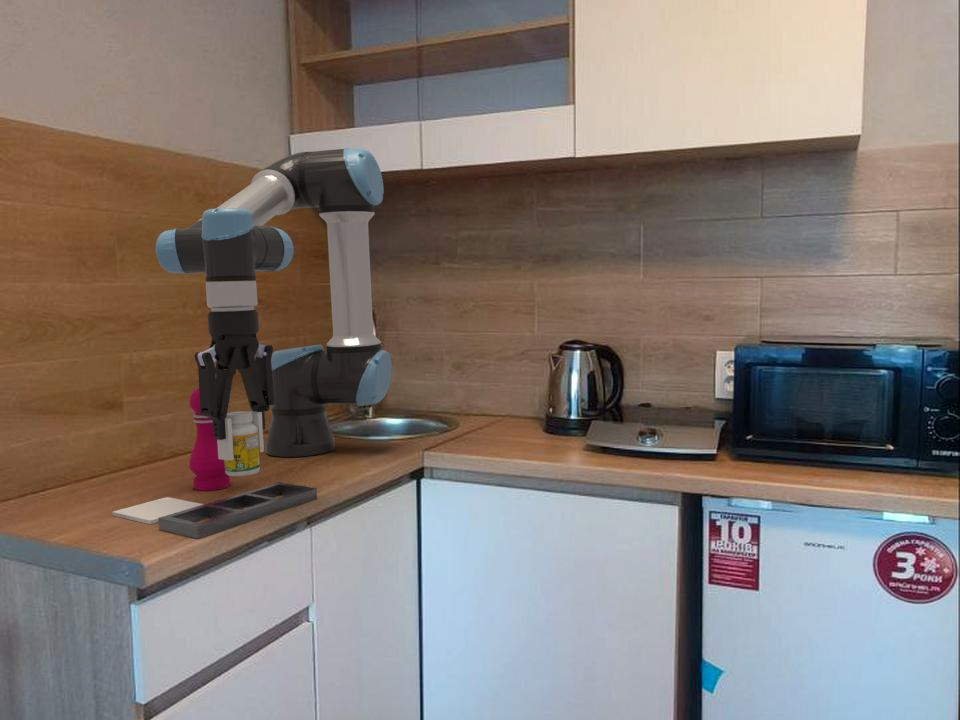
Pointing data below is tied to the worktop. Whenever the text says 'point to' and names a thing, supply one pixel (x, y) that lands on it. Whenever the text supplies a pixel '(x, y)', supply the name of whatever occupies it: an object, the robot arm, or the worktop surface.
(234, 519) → the rack frame
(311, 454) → the robot arm
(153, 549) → the worktop surface
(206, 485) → the pepper mill
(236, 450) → the supplement bottle
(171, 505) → the white mat
